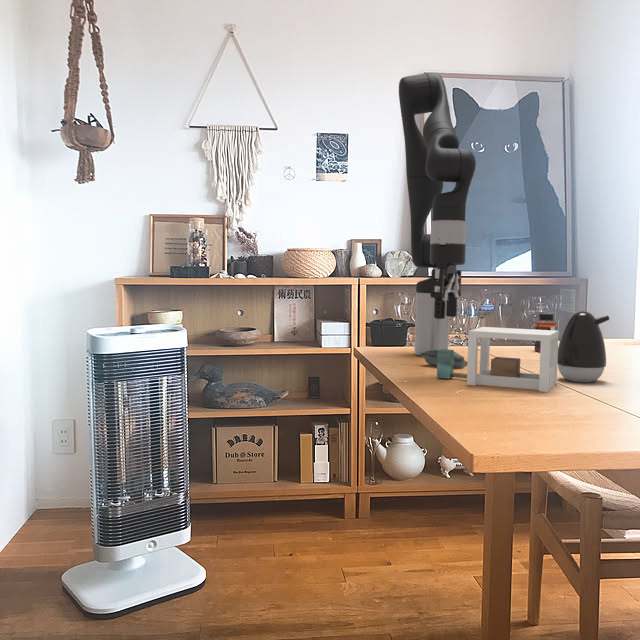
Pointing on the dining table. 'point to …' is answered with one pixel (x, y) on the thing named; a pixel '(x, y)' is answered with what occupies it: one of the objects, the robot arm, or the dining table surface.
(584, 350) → the pump dispenser
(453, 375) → the tethered block
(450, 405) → the dining table surface
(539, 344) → the supplement bottle
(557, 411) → the dining table surface
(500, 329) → the white open frame stand
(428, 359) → the stone
